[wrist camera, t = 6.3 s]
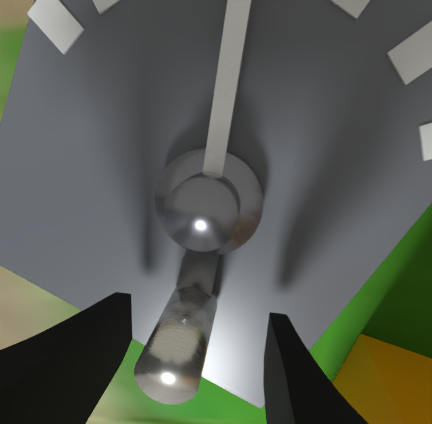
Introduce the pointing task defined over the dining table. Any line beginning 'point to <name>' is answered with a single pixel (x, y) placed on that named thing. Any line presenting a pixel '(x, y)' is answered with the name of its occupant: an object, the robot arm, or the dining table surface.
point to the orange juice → (386, 383)
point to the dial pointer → (201, 230)
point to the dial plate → (238, 144)
